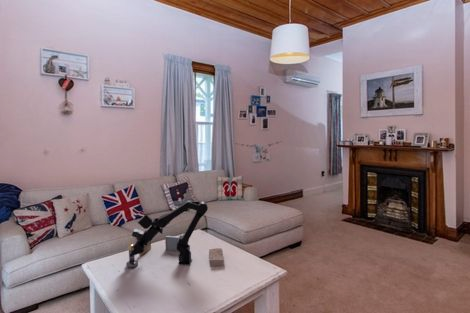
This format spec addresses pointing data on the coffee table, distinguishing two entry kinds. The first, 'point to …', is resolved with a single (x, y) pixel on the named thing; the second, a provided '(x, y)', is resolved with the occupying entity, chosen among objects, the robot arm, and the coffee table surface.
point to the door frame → (171, 242)
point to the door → (146, 248)
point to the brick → (216, 257)
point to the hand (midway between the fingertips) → (131, 252)
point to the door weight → (131, 259)
